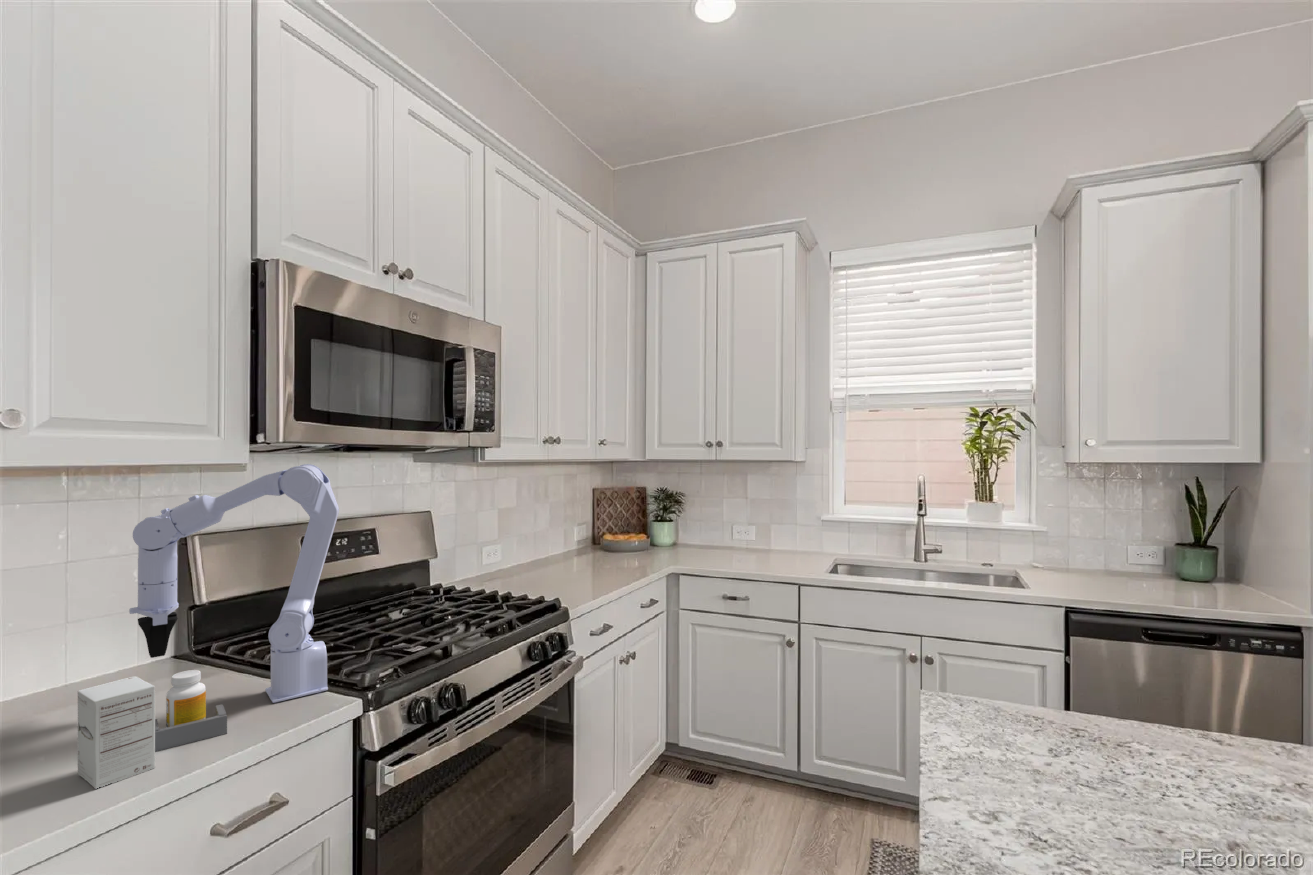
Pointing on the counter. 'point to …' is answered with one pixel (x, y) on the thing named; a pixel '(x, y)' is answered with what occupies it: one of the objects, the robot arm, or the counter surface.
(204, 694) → the supplement bottle
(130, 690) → the supplement box
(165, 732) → the clip holder
